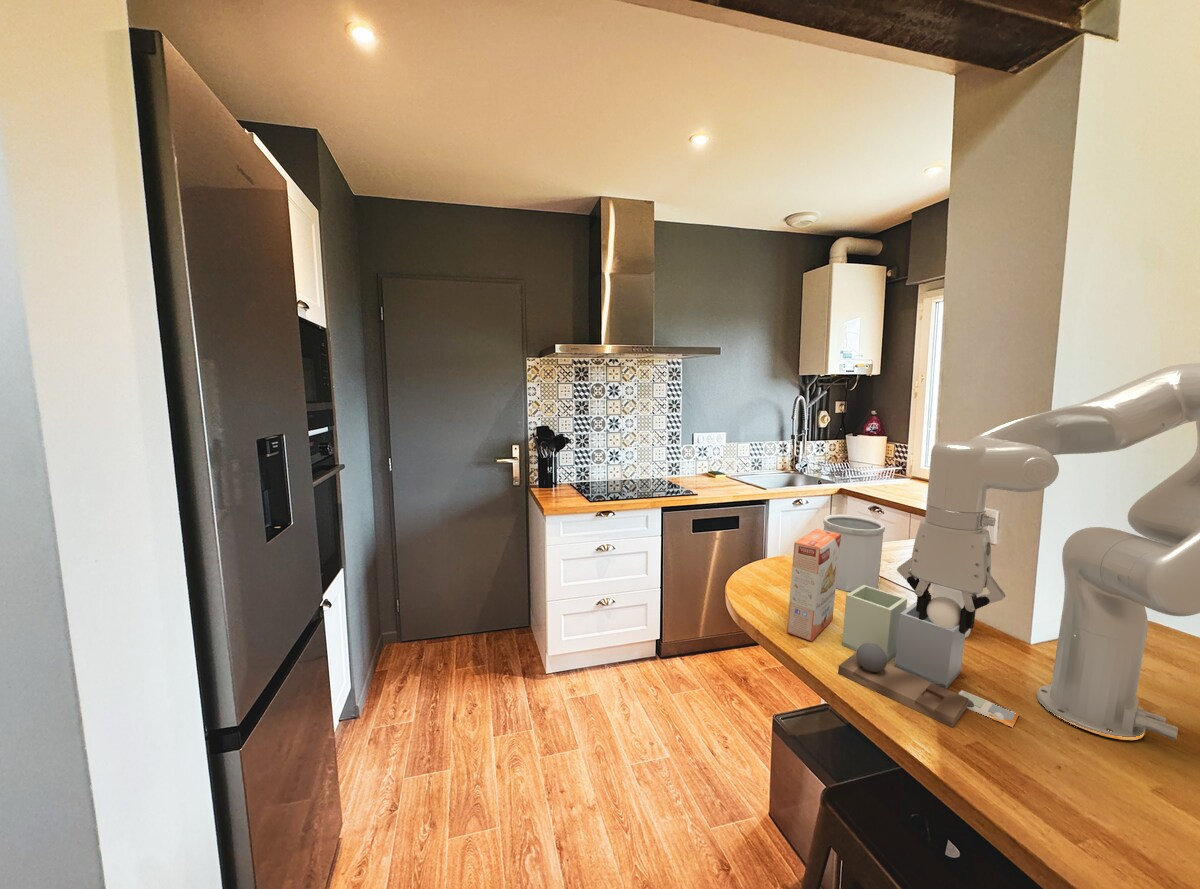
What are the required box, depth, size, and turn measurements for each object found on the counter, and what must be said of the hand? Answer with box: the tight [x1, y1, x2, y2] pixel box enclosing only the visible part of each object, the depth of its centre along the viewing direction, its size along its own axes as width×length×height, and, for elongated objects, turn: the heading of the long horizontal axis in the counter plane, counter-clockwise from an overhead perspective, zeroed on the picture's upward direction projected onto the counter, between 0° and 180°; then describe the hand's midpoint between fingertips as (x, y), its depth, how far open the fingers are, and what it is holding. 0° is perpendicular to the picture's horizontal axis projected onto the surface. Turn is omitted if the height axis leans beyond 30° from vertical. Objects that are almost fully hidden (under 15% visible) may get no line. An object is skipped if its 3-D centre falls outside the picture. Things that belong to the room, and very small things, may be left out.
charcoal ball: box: [855, 643, 888, 672], centre depth 89 cm, size 5×5×5 cm
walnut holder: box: [837, 652, 969, 728], centre depth 85 cm, size 18×8×2 cm, turn 39°
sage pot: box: [841, 585, 908, 663], centre depth 98 cm, size 8×8×11 cm
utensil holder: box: [822, 514, 886, 593], centre depth 130 cm, size 15×15×18 cm
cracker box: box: [786, 528, 841, 643], centre depth 106 cm, size 14×6×21 cm, turn 137°
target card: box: [958, 689, 1017, 721], centre depth 80 cm, size 8×5×1 cm, turn 39°
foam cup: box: [931, 583, 985, 639], centre depth 106 cm, size 10×9×13 cm
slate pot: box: [894, 601, 966, 689], centre depth 91 cm, size 8×8×11 cm
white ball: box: [926, 597, 962, 629], centre depth 79 cm, size 5×5×5 cm
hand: (943, 622), depth 79 cm, fingers closed on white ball, 5 cm apart
